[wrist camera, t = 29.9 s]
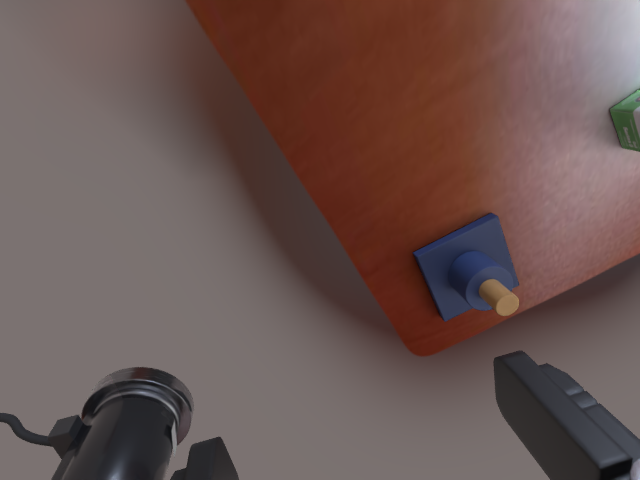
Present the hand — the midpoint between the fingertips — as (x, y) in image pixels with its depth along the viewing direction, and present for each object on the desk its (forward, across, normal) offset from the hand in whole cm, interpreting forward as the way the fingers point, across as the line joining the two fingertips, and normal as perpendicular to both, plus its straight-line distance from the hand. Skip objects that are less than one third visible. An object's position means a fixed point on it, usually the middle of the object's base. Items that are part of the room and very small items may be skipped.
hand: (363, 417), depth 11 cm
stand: (+27, -16, +13) cm, 34 cm away
